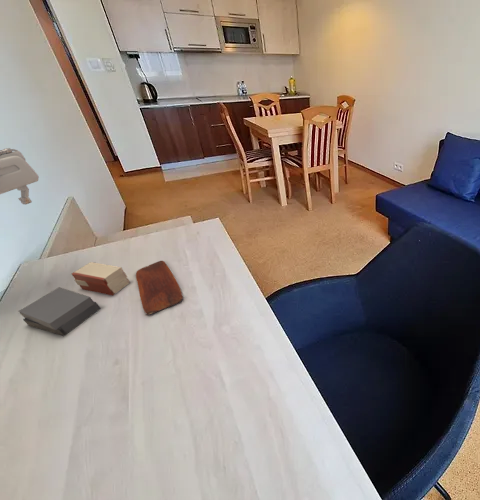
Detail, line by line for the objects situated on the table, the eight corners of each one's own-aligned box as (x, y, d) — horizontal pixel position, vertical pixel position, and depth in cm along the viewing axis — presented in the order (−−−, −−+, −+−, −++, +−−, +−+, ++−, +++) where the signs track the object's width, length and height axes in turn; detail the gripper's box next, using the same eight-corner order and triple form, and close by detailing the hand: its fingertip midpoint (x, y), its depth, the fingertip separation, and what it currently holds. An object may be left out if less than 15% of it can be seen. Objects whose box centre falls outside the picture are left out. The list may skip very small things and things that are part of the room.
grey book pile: (26, 326, 82) (13, 313, 79) (67, 299, 90) (57, 286, 87) (63, 337, 78) (51, 324, 75) (103, 307, 86) (93, 294, 83)
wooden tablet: (185, 301, 86) (183, 296, 85) (146, 318, 81) (144, 314, 80) (167, 259, 104) (165, 255, 103) (134, 272, 99) (132, 268, 98)
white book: (74, 279, 91) (70, 273, 90) (94, 267, 96) (90, 261, 95) (106, 285, 88) (102, 279, 87) (124, 272, 93) (121, 267, 91)
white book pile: (81, 289, 93) (73, 279, 91) (101, 276, 99) (94, 266, 96) (112, 296, 90) (105, 286, 87) (131, 282, 95) (125, 272, 93)
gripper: (8, 145, 80) (42, 194, 88) (-105, 173, 64) (-51, 229, 72) (23, 146, 78) (57, 195, 86) (-89, 175, 62) (-35, 232, 70)
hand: (7, 211), depth 79 cm, fingers open, 8 cm apart
